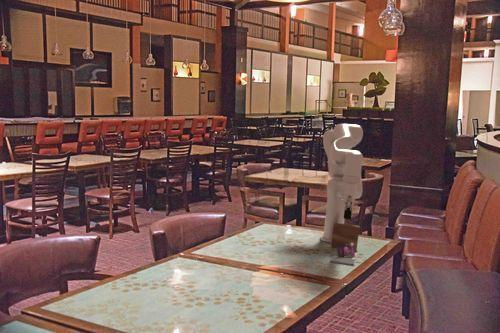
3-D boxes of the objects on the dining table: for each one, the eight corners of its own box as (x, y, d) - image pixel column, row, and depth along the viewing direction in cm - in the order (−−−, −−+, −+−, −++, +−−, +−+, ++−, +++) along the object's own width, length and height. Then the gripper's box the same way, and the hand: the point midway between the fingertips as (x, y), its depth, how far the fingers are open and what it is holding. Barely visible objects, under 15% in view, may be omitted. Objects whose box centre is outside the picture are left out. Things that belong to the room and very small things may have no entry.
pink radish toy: (338, 243, 230) (354, 242, 234) (331, 243, 235) (347, 242, 239) (339, 258, 229) (355, 257, 233) (332, 258, 233) (348, 257, 238)
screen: (331, 246, 247) (333, 222, 246) (356, 250, 245) (359, 225, 244) (330, 248, 245) (333, 223, 244) (356, 251, 243) (359, 226, 242)
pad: (331, 257, 231) (331, 255, 231) (354, 260, 229) (354, 259, 229) (330, 262, 223) (330, 260, 223) (353, 265, 221) (353, 264, 221)
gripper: (343, 176, 239) (339, 212, 241) (342, 181, 222) (338, 219, 224) (360, 178, 238) (355, 214, 240) (360, 183, 221) (355, 222, 223)
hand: (347, 216), depth 232 cm, fingers open, 9 cm apart
